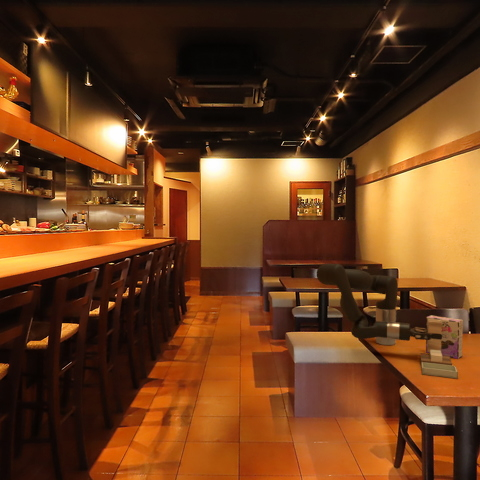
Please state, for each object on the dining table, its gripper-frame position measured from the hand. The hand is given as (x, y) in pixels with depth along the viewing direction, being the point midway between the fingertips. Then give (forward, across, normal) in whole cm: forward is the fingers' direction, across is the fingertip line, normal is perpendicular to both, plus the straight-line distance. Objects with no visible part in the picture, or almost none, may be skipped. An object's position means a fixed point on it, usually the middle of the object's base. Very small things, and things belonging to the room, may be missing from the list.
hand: (441, 335), depth 170 cm
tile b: (-2, -11, +8) cm, 14 cm away
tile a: (-2, -7, +8) cm, 11 cm away
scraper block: (-3, 0, +7) cm, 7 cm away
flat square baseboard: (-2, -8, +11) cm, 14 cm away
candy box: (+2, +10, +11) cm, 15 cm away
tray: (-2, -18, +11) cm, 21 cm away
